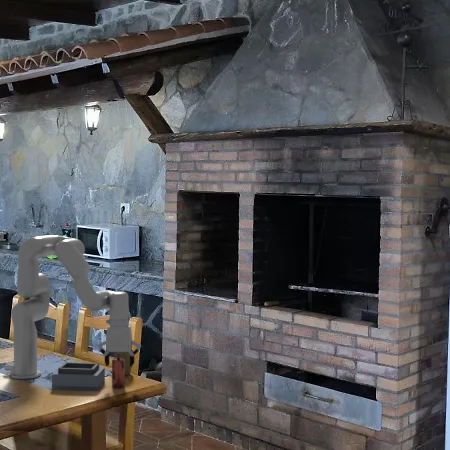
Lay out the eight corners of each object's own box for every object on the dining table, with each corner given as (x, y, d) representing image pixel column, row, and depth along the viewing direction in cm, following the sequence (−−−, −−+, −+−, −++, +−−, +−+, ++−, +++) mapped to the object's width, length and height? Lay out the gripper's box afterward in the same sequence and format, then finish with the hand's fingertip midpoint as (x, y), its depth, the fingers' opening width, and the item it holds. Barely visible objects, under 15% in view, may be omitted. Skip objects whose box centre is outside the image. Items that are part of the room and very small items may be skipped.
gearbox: (51, 389, 278) (51, 369, 278) (61, 380, 291) (61, 361, 291) (97, 390, 277) (97, 370, 277) (104, 381, 290) (104, 362, 290)
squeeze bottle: (128, 377, 297) (129, 335, 296) (110, 376, 299) (110, 333, 298) (135, 372, 305) (135, 331, 304) (117, 371, 307) (117, 330, 306)
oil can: (110, 388, 281) (110, 355, 280) (113, 384, 286) (113, 352, 285) (123, 388, 280) (123, 355, 280) (125, 385, 285) (126, 352, 285)
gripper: (95, 324, 278) (96, 367, 279) (139, 324, 277) (139, 368, 278) (99, 321, 286) (100, 363, 287) (142, 321, 285) (142, 363, 286)
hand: (119, 365), depth 282 cm, fingers open, 9 cm apart
